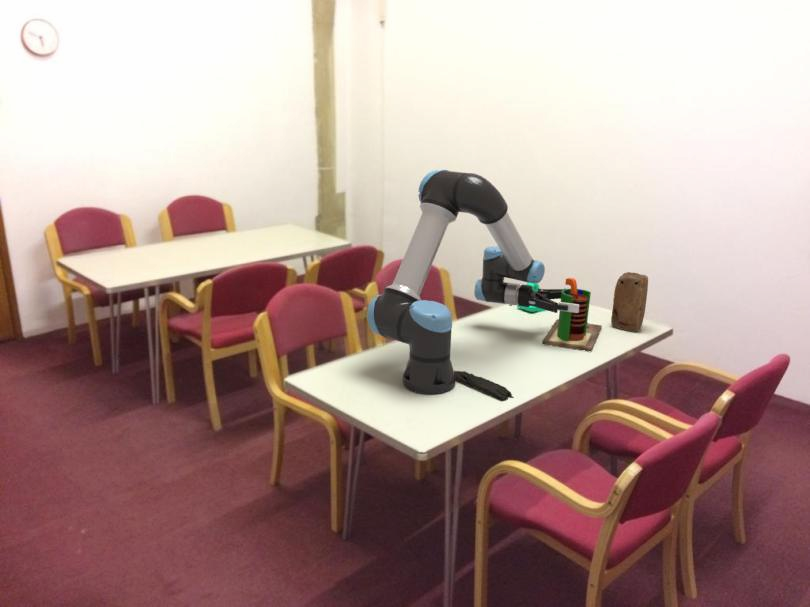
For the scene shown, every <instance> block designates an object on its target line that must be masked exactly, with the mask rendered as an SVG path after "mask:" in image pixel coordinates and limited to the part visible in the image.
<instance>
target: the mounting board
mask: <svg viewBox="0 0 810 607" xmlns="http://www.w3.org/2000/svg"><path fill="white" fill-rule="evenodd" d="M558 322H559V318H556V320H554V323H553V325H552V326H551V327H550V329H549V330H548V332H547V334H546V335H545V336H544V338H543V340H542V341H541V342H542V343H541V344H542V345H543V344H544V345H543V346H550V345H552V346H551V347H556V346H558V347H557V348H563V347H564V349H569V348H572V349H571V350H576V349H578V351H582V350H585V351H584V352H589V351H591V350H593V348H594V346H595V344H596V342H597V340H596V339H598V337H599V335H600V333H599V332H601V331H600V330H602V327H603V326H602V325H601V324H594V323H588V322H587V328H586V336H584V339H583V340H581V341H570V340H569V341H564V340H562V339H560V338H558V337H557V331H558ZM591 352H592V351H591Z"/></svg>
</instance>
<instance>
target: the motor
mask: <svg viewBox="0 0 810 607" xmlns="http://www.w3.org/2000/svg"><path fill="white" fill-rule="evenodd" d="M566 285H567V286H569V287H570V288H563V289H564V290H562V293H561V299H560V302H564V303H571V304H579V313H574V312H566V311H559V314H558V319H559V322H558V331H557V337H558V338H560V339H562V340H564V341H569V340H570V341H581V340H583V339H584V336H586V328H587V323H588V319H589V318H588V317H589V309H590V302H591V294H592V293H591V291H590V290H586V289H580V288H578V284H577V280H576V278H573V277H567V278H565V286H566Z"/></svg>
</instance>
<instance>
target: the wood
mask: <svg viewBox="0 0 810 607" xmlns="http://www.w3.org/2000/svg"><path fill="white" fill-rule="evenodd" d="M454 373H455V377H456V379H457V380H458V381H460V382H461V383H463V384H464V385H465V386H467V387H469V388H472V389H475V390H476V391H477V390H478V391H479V392H482V393H484V394H485V395H488V396H490V397H491V398H494V399H496V400H498V401H501V402H505V401H508V400H509V399H511V398H513V399H514V396H513V395H512V392H511V391H510V390H509V389H507V387H505V386H503V385H501V384H498V383H496V382H494V381H492V380H489V379H487V378H484V377H481V376H477V375H475V374H473V373H470V372H467V371H465V370H462V371H461V370H454Z"/></svg>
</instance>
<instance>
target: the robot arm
mask: <svg viewBox="0 0 810 607" xmlns="http://www.w3.org/2000/svg"><path fill="white" fill-rule="evenodd" d="M418 201H419V202H420V205H419V208H420V210H421V215H420V217H419V220H418V223H417V225H416V228H415V230H414V232H413V234H412V237H411V239H410V242H409V244H408V246H407V249H406V251H405V253H404V256H403V258H402V260H401V263H400V265H399V268H398V271H397V273H396V275H395V278H394V280H393V282H392V284H391V285H388V286H386V287H385V288H384V289H383V290H384V291H383V292H382V294H379V295H375V296H374V297H373V298H372V299H371V300H370V302H369V305H368V307H367V312H366V317H367V318H366V319H367V322H368V323H367V324H368V327H369V328H370V329H371V331H372V332H374V334H376V335H379V336H381V337H383V338H385V339H390V340H393V341H396V342H400V343H403V344H407V345H409V355H408V356H409V357H408V361H407V363H406V366H405V369H404V372H403V375H402V384H403V386H404V387H405V388H406V389H407V390H409V391H411V392H415V393H418V394H423V395H424V394H425V395H437V394H442V393H448V392H449V391H450V392H451V390H453V389H454V388H455V387H456V382H457V381H456V380H457V378H456V377H455V373H454V371H455V370H454V367H453V364H452V360H451V351H452V350H451V347H452V328H453V322H452V320H453V319H452V313H451V310H450V309H449V308H448V306H446V305H445V304H443V303H440V302H438V301H434V300H427V299H424V300H423V299H421V296H420V295H421V293H422V290H423V288H424V284H425V282H426V280H427V277H428V275H429V273H430V270H431V267H432V265H433V263H434V260H435V258H436V255H437V252H438V250H439V248H440V246H441V243H442V242H443V241H442V240H443V238H444V236H445V233H446V231H447V228H448V226H449V225H450V224H451V223H454V222H455V221H456V219H457V218H458V215H459V213H465V214H470V215H472V216H474V217H476V218H477V219H478V221H479V222H480V224H483V225H485V226H486V228H487V230H488V232H489V233H490V235H491V236H492V238H493V240H494V241H495V243H496V244H497V246H494V245H493V246H488V247H485V248H484V250H483V257H482V277H481V279H480V278H479V279H477V280H476V281H475V285H474V290H473V291H474V298H475V299H476V300H478V301H481V302H486V303H495V304H503V305H508V306H510V307H512V306H517V305H519V306H523V307H529V306H534V307H538V308H541V309H544V310H546V311H547V312H548V311H549V312H551V313H554V314H555V313H556V314H557V313H558V311H559V312H560V311H566V312H574V313H579V304H571V303H564V302H561V301H558V302H556V301H555V300H558V299H559V300H561V293H562V290H564V289H565V288H539V289H538V290H537V291H533V287H532V286H531V285H526V284H527V283H536V284H539V283H541V281H542V280H543V278H544V275H545V273H546V266H545V264H544V263H543V262H542V261H538V260H535V259H533V257H532V255H531V254H530V252H529V249H528V248H527V246H526V245H525V242H524V240H523V239H522V236H521V235H520V233H519V232H518V230H517V227H516V225H515V224H514V222H513V219H512V218H511V216H510V214H509V213H508V209H509V207H508V206H509V205H508V203H507V201H506V200H505V198H504V196H503V195H502V194H501V192H500V190H498V189H497V187H496V186H495V185H493V184H492V183H491V182H490V181H489V180H488V179H486V178H485V177H483V176H482V175H480V174H477V173H473V172H472V173H471V172H462V171H461V172H460V171H452V170H447V169H439V170H438V169H436V170H432V171H430V172H428V173H427V174H426V175H425V176H424V177H423V178H422V179H421V181H420V184H419V187H418ZM505 278H507V279H512V280H516V281H520V282H525V283H526V284H521V283H514V282H505Z"/></svg>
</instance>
